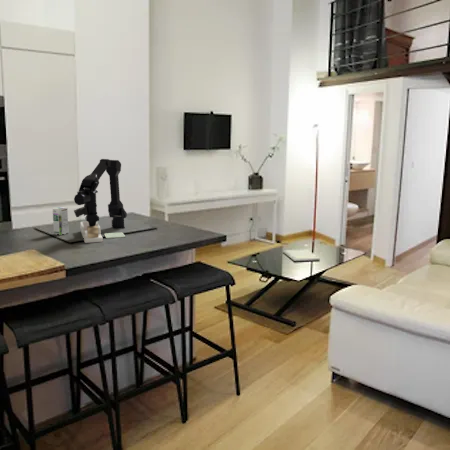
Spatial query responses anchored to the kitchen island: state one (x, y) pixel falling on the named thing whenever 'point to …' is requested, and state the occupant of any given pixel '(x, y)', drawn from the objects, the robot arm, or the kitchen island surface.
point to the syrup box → (60, 220)
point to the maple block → (92, 231)
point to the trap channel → (85, 234)
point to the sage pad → (114, 235)
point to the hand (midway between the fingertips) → (91, 231)
